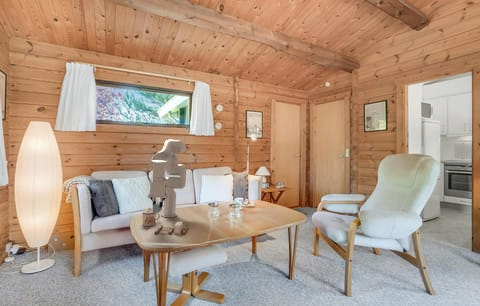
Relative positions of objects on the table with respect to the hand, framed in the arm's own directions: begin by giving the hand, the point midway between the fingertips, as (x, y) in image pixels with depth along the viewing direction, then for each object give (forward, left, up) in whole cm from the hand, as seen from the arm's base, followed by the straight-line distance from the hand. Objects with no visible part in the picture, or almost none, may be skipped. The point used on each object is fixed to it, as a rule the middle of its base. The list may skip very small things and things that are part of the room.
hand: (157, 207), depth 158 cm
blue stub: (0, 0, -3) cm, 3 cm away
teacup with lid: (-13, -8, -16) cm, 22 cm away
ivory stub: (+4, +15, -14) cm, 21 cm away
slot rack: (+4, +11, -15) cm, 19 cm away
